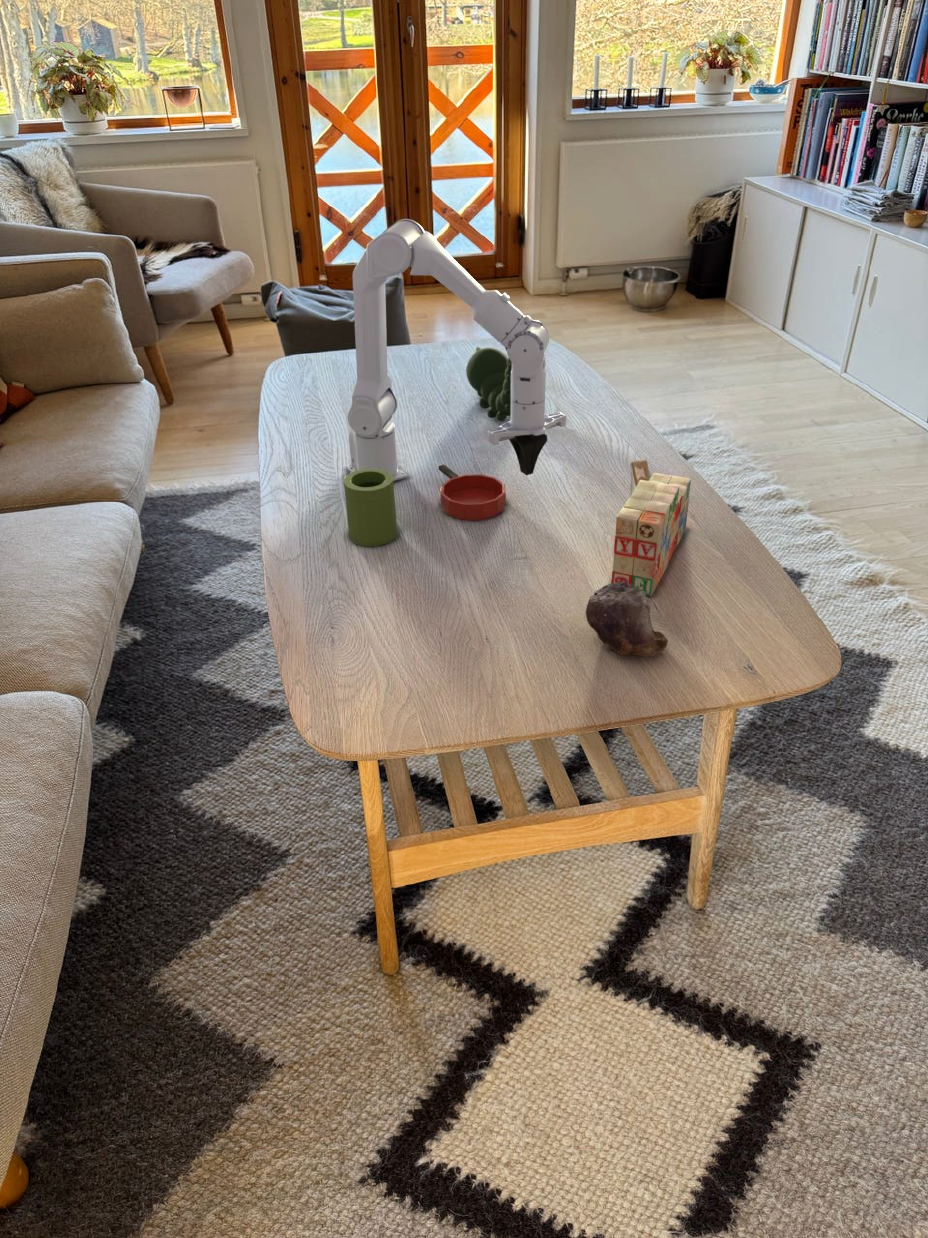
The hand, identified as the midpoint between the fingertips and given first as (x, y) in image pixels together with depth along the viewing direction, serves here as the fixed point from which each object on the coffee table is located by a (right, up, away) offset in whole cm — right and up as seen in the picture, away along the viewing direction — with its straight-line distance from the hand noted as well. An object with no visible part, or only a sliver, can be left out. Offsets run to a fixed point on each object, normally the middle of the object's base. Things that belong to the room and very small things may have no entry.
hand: (526, 472), depth 164 cm
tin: (+18, -9, -7) cm, 22 cm away
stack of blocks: (+18, -16, -18) cm, 30 cm away
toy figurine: (-4, +18, +31) cm, 36 cm away
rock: (+10, -29, -36) cm, 47 cm away
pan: (-11, -4, 0) cm, 12 cm away
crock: (-26, -12, -10) cm, 30 cm away
